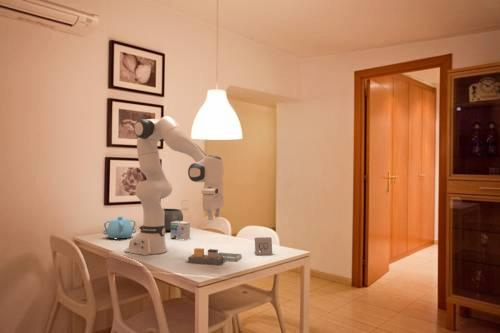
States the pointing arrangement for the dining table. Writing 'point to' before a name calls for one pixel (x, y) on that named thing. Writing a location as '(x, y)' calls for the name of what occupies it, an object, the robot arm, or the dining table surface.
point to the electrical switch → (263, 246)
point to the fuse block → (206, 260)
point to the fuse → (198, 252)
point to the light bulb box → (180, 230)
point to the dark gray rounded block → (172, 217)
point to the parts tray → (230, 256)
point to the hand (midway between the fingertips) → (213, 218)
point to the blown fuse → (212, 253)
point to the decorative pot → (119, 228)
